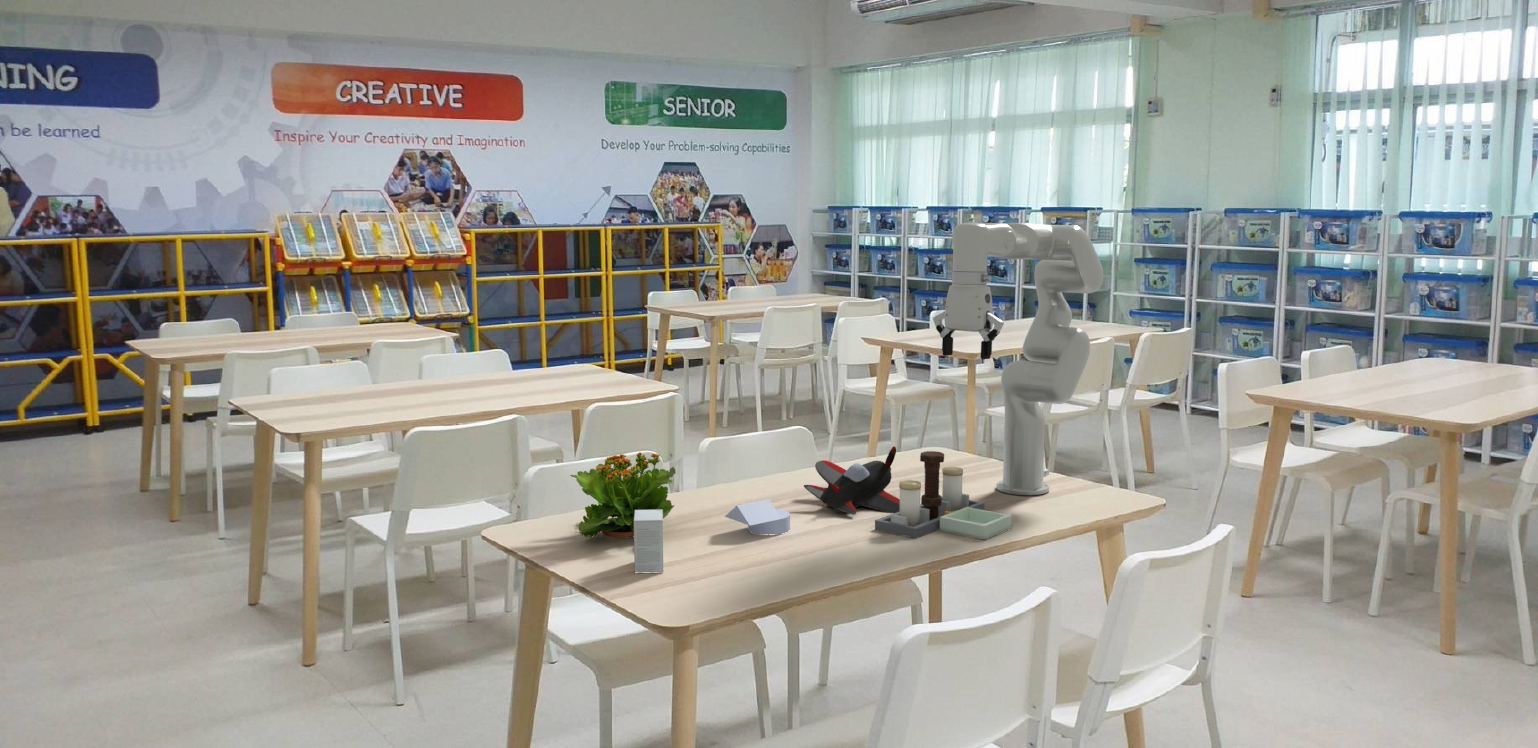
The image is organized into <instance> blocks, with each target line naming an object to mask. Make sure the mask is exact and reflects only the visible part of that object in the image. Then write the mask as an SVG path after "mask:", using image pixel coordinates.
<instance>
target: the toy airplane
mask: <svg viewBox="0 0 1538 748" xmlns="http://www.w3.org/2000/svg"><path fill="white" fill-rule="evenodd" d="M896 454H897V447H896V446H893V447H891V449H890V450H889V452H888V454H887V457H886V458H885V462H884V461H881V460H872V461H869V462H867V463H864V464H860V463H859V462H855V463H853V464H852V465H850V466H849V467H848V468H847V469H846V468H843V466H842V467H841V466H839V465H837V464H836V463H834V462H832V461H829V460H825V459H824V460H819V461H817V462H816V463H815V466H814V467H815V470H816V472H817V473H818V475H819V476H820V477H821V478H822V480H823V481H825V482H826V483H827V484H828V485H827V487H822V486H818V485H814V484H813V485H812V484H803V487H804V489H806V491H808V492H809V493H810V494H812V495H813V496H814V497H816V498H817V499H818V500H820V501H821V502H822V503H823V505H824V507H825V508H827V509H830V510H839V511H841V512H844V513H846V514H849V515H857V510H856V508H858V507H865V508H869V509H873V510H878V511H879V512H883V513H889V514H890V513H891V514H894V513H897V512H899V508H900V497H899V498H898V497H897V496H895V495H893V494H891V493H888V492H887V491H886V490H885V489H886V488H887V487H888V485H890V483H891V481H892V464H893V462H894V460H895V457H896Z"/></svg>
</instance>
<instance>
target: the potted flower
mask: <svg viewBox="0 0 1538 748" xmlns="http://www.w3.org/2000/svg"><path fill="white" fill-rule="evenodd" d="M626 457H627V455H625V454H622V453H620V455H612V456H609V457H607V456H606V458H605V459H604V463H599V464H597V465H596V467H595V468H590V469H589V472H588V471H587V470H584V471H577V474H570V475H569V476H570V477H572V478H576V482H577V483H578V484H579V486H580V487H582V488H581V490H582V491H583V493H584V494H585V495H587V496H590V497H591V498H593V499H594V500H596V501H597V503H598V505H597V504H594V503H591V504H590V505H587V506H585V507H584V510H585V513H586V515H582V518H583V520H580V522H579V524H578V531H579V532H578V534H581V536H584V537H589V538H593V537H597V536H598V535H599V533H600V534H601V535H602V534H603V535H602V536H605V537H607V536H608V537H607V538H612V537H614V538H615V539H627V538H626V537H629V538H634V537H633V536H634V511H635V510H663V520H664V519H665V518H666V517H667V516H668V515H669V514H670V513H671V511H672V509H673V508H674V507H675V505H674V504H673V503H672V501H671V500H670V499H667V498H668V493H669V487H667V486H663V485H667V484H668V485H669V484H672V483H673V480H672V479H670V478H672V477H673V476H674V475H675V474H677V473H676V468H674V467H675V466H671V467H670V469H668V470H666V469H665V468H664V469H663V468H660V469H659V468H656V465H657V463H658V464H659V463H660V454H657V453H652V454H651V455H650V457H651V458H647V456H646V455H645V454H644V453H642V452H641V451H639V452H638V453H636V458H635V459H634V460H635V465H633V463H632V462H631V459H629V458H626ZM649 464H652V466H653V468H652V470H650V469H648V468H649ZM612 465H613V467H612ZM632 465H633V466H632ZM629 467H630V468H629ZM628 468H629V469H628ZM646 469H647V470H646ZM672 504H673V505H672ZM609 517H610V518H609ZM596 535H597V536H596ZM592 536H593V537H592Z"/></svg>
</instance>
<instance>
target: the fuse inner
mask: <svg viewBox="0 0 1538 748" xmlns="http://www.w3.org/2000/svg"><path fill="white" fill-rule="evenodd" d="M941 470H942V471H941V472H942V473H941V474H942V485H941V486H942V494H941V496H942V500H945V501H950V502H951V504H950V512H954V511H957V510H960V509H962V494H963V475H964V469H963V468H962V467H957V466H945V467H942V469H941Z"/></svg>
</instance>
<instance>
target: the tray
mask: <svg viewBox="0 0 1538 748" xmlns="http://www.w3.org/2000/svg"><path fill="white" fill-rule="evenodd" d="M1008 529H1010V530H1012V514H1007V513H1000V512H995V511H992V510H991V511H990V510H986V509H985V510H981V509H976V508H970V507H965V508H963V509H960V510H957V511H955V512H952V513H949V514H947V515H944V516H941V517H940V529H939V532H943V533H944V532H945V533H947V534H948V533H949V534H953V535H958V536H962V537H968V538H972V539H976V540H977V539H978V540H981V539H984V540H983V541H986V540H988V539H991V538H993V536H994V535H996V534H998V535H1001V534H1003V533H1005V532H1007V531H1006V530H1008ZM1004 531H1005V532H1004ZM1008 531H1009V530H1008ZM1002 532H1003V533H1002ZM1000 533H1001V534H1000ZM996 536H997V535H996ZM994 537H995V536H994ZM985 539H986V540H985Z"/></svg>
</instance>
